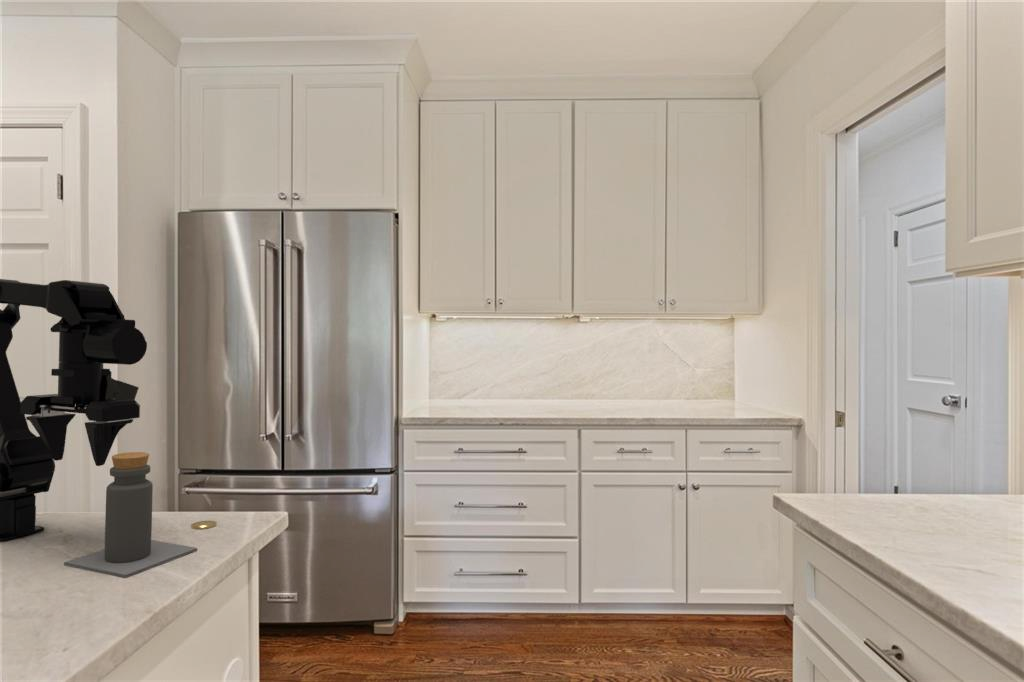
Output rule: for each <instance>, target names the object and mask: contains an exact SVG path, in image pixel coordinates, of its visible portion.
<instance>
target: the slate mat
mask: <svg viewBox="0 0 1024 682" xmlns="http://www.w3.org/2000/svg"><path fill="white" fill-rule="evenodd" d="M197 551H198V547H196V546H195V547H194V546H189V545H183V544H177V543H172V542H166V541H161V540H154V539H151V553H150V555H149V556H147V557H145V558H143V559H140V560H136V561H131V562H124V563H112V562H107V561H106V560H105V548H104V549H101V550H98V551H94V552H91V553H89V554H84V555H82V556H79V557H76V558H73V559H70V560H69V559H68V560H66V561H64V562H63V565H64V566H68V567H72V568H77V569H83V570H87V571H92V572H97V573H101V574H105V575H109V576H110V575H111V576H116V577H118V578H120V577H121V578H124V579H125V578H126V579H127V578H129V577H132V576H135V575H137V574H139V573H142V572H144V571H145V572H146V571H147V570H150V569H152V568H155V567H157V566H161V565H162V564H166V563H168V562H171V561H173V560H176V559H178V558H181V557H184V556H186V555H189V554H191V553H194V552H195V553H196V552H197Z"/></svg>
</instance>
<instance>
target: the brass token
mask: <svg viewBox="0 0 1024 682" xmlns="http://www.w3.org/2000/svg"><path fill="white" fill-rule="evenodd" d="M217 525H218V524H217V521H215V520H200V521H196V522H193V523H191V524H190V528H191V529H194V530H205V529H211V528H214V527H216V526H217Z"/></svg>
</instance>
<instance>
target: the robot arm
mask: <svg viewBox="0 0 1024 682" xmlns="http://www.w3.org/2000/svg"><path fill="white" fill-rule="evenodd" d="M0 304H2V305H3V304H5V305H6V306H5V307H4V308H3V310H2V309H1V308H0V542H4V541H9V540H12V539H15V538H19V537H23V536H26V535H31V534H34V533H38V532H41V531H42V532H43V531H44V530H45V526H41V525H36V521H37V519H36V517H37V516H36V515H37V514H36V513H37V505H36V500H37V499H36V497H37V496H36V495H37V494H41V493H47V492H49V491H50V487H51V484H52V480H53V477H54V474H55V471H56V463H55V461H56V462H57V461H61V460H63V458H64V455H65V454H64V453H65V447H66V439H67V428H68V425H69V423H71V421H72V420H73V419H74V418H75V416H76V414H84V415H85V416H86V418H87V420H89V421H88V422H86V421H85V422H84V427H85V431H86V434H87V439H88V443H89V446H90V451H91V455H92V458H93V460H94V461H93V462H94V464H95V466H97V467H101V466H104V465H105V464H106V461H107V459H108V456H109V454H110V452H111V449H112V447H113V444H114V442H115V439H116V437H117V436H118V433H119V432H120V431H121V430H122V429H123V428H124V427H126V425H128V424H132V423H133V421H134V419H139V418H140V417H141V405H140V404H139V403H138V402H137V401H136V397H137V393H138V391H139V389H140V388H139V386H137V385H136V386H135V385H134V384H130V383H127V382H125V381H121V380H117V379H114V378H112V371H111V369H110V368H104V364H109V365H128V366H130V365H135V364H137V363H139V362H140V361H141V360H142V359H143V358H144V357H145V355H146V352H147V349H148V348H147V347H148V343H147V341H146V338H145V336H144V333H142V332H141V331H140V330H139V329H138V328H137V327H136V320H135V319H125V315H124V314H123V312H122V310H121V308H120V306H119V305H118V302H117V301H116V299H115V297H114V296H113V293H112V292H111V291H110V287H109V286H108V285H107V284H104V283H98V282H88V281H78V280H69V279H68V280H67V279H64V280H63V279H62V280H57V281H50V282H49V283H48V284H39V283H30V282H29V283H28V282H21V281H19V280H17V279H15V280H14V279H3V278H0ZM20 306H28V307H29V306H30V307H36V308H42V309H45V310H46V312H48V313H49V314H52V315H54V316H56V317H59V318H60V320H59V321H58V322H57V323H54V324H53V325H52V326H51V327H50V332H51V333H58V334H59V335H58V337H59V339H58V342H59V343H58V368H52V369H51V375H50V376H53V377H55V376H56V377H57V393H49V394H36V395H35V394H34V395H26V396H25V398H23V399H22V400H21V398H20V395H19V391H18V389H17V385H16V382H15V377H14V375H13V373H12V372H13V371H12V369H11V365H10V363H9V358H8V356H7V350H8V349H9V346H10V344H11V342H12V340H13V337H14V335H13V329H14V328H15V326H16V325H17V323H19V321H20V320H21V314H20ZM26 415H28V416H26ZM28 421H29V422H30V423H31V425H32V426H33V428H34V429H35V431H36V433H37V434H38V435H39V436H38V435H36V434H34V433H33V432H32V431H31V430H30V428H29V424H28Z"/></svg>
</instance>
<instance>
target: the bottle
mask: <svg viewBox="0 0 1024 682" xmlns="http://www.w3.org/2000/svg"><path fill="white" fill-rule="evenodd" d="M149 456H150V453H147V452H142V451H141V452H140V451H139V452H138V451H137V452H133V451H132V452H130V451H129V452H122V453H117V454H116V453H115V454H113V455H111V460H112V467H111V468H109V476H111V477H113V480H114V481H113V482H110V483H109V484H108V485H107V486H106V491H105V493H106V494H105V495H106V496H105V519H104V520H105V521H104V523H105V525H104V526H105V527H104V549H105V560H106V561H107V562H112V563H124V562H131V561H136V560H140V559H143V558H145V557H147V556H149V555H150V553H151V540H152V528H153V527H152V526H153V525H152V524H153V522H152V521H153V492H154V491H153V486H154V485H153V482H152V481H151V480H149V479H147V474H150V472H151V465H150V464H148V462H149V461H148V460H149Z"/></svg>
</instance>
